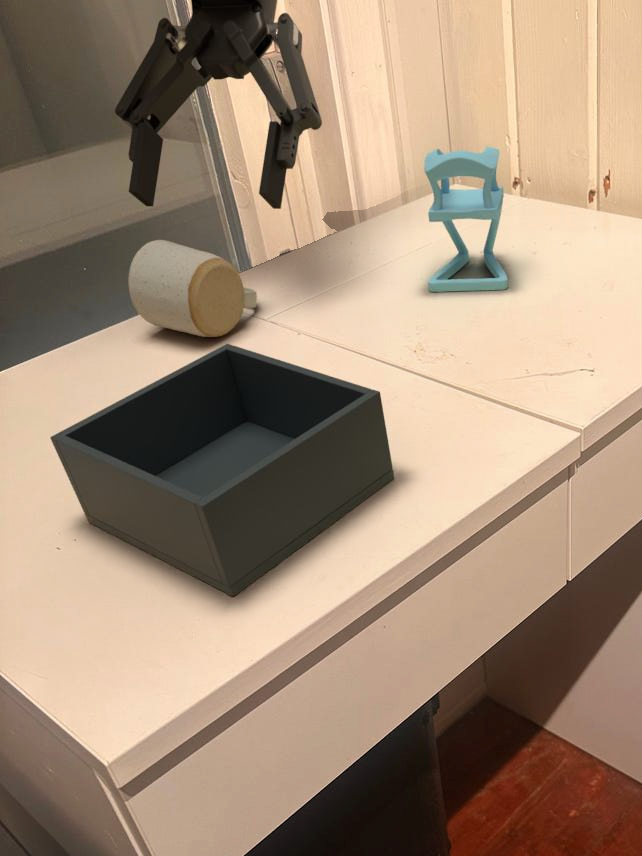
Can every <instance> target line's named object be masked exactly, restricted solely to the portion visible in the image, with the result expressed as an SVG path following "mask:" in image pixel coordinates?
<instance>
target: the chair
mask: <svg viewBox="0 0 642 856" xmlns="http://www.w3.org/2000/svg"><path fill="white" fill-rule="evenodd" d="M499 156H500V149H499V148H496V147H491V146H488V145H487V146H486V147H485V148H484V150H483V151H482V152H473V151H469V150H453V151H449V152H446V153H444V152H442V151H441V149H440V148H436V149H433V150H432V151H430V152H428V153H427V154H425V157H424V163H423V169H424V173H425V175H426V177H427V180H428V181H429V184H430V187H431V189H432V192H433V202H432V204H431V206H430V208H429V210H428V211H427V213H428V214H427V215H428V223H441V222H442V224H443V226H444V228H445V230H446V231H447V234H448V235H449V237H450V238H451V241H452V242H453V244H454V246H455V248H456V250H457V254H456V255H455V256H454V257H453V258H452V259H451V260H450V261H448V262H447V263H446V264H445V265H444V266H443V267H441V268H440V269H439V270H438V271H437V272H435V273H434V274H433V275H432V276H431V277H430V278H429V279H428V281H427V283H428V290H429V292H431V293H440V292H471V291H473V292H474V291H502V290H507V289H508V288H509V287H508V285H509V284H508V276H507V273H506V272H505V270H504V268H503V267H502V266H501V264H500V262H499V261H498V259H497V257H496V256H495V253H494V247H495V242H496V239H497V234H498V229H499V225H500V220H501V216H502V210H503V203H504V197H505V195H504V186H499V184H498V182H497V167H498V163H499ZM456 177H471V178H478V179H482V180H484V182H483V186H482V188H473V189H471V188H470V189H456V188H455V189H453V188H450V187H451V186H450V185H451V184H450V178H456ZM439 181H440V185H439V183H438V182H439ZM453 220H479V221H480V220H481V221H490V224H489V228H488V233H487V236H486V239H485V243H484V246H483V260H484V263H485V265H486V267H487V269H488V270H489V271H490V273H491V274H492V276H493V277H487V278H486V277H485V278H458V279H457V278H456V279H455V278H454V279H450V278H451V277H452V276H454V275H455V274H456V273H457V272H458V271H460V270H461V269H462V268H464V266H466V264H467V263H468V262H469V261H470V254H469V249H468V248H467V245H466V244H465V242H464V240H463V239H462V237H461V235H460V233H459V231H458V229H457V228H456V225H455V223H454V222H453Z"/></svg>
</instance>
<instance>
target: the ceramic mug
mask: <svg viewBox="0 0 642 856" xmlns="http://www.w3.org/2000/svg"><path fill="white" fill-rule="evenodd" d="M127 279H128V281H127V282H128V283H127V284H128V291H129V292H128V293H129V296H130V300H131V302H132V305H133V307H134V308H135V310H136V311H137V313H138V314H139V316H140V317H141V318H142V319H143V320H145V322H147V323H149V324H151V325H153V326H156V327H160V328H164V329H169V330H173V331H177V332H181V333H182V332H183V333H187V334H190V335H194V336H198V337H203V338H219V337H222V336H225V335H226V334H228V333H229V332H230V331H232V330H233V329H234V328H235V327H236V325H237V324H238V322H239V321H240V319H241V317H242V314H243V312H244V309H256V307H257V300H258V293H257V291H256V290H254V289H252V288H248V287H245V286H244V284H243V279H242V277H241V275H240V273H239V272H238V270H237V269H236V267H235V265H232V263H230V262H229V261H228V260H226V259H224V258H222V257H220V256H218V255H216V254H213V253H211V252H207V251H204V250H199V249H195V248H192V247H189V246H185V245H182V244H179V243H176V242H173V241H169V240H165V239H156V240H152V241H149V242H147V243H145V244H144V245H142V246H141V247H140V248H139V249H138V251H136V253H135V255H134V257H133V259H132V261H131V264H130V266H129V271H128V278H127Z"/></svg>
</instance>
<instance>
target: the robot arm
mask: <svg viewBox="0 0 642 856" xmlns="http://www.w3.org/2000/svg"><path fill="white" fill-rule="evenodd" d="M190 3H191V16H190V19H189V21H188V23H186V25H185V26H184V25H174V24H172V21H170V20H169V19H168V18H167V17H163V18H160V20H159V21H158V23H157V28H156V30H155V35H154V39H153V41H152V44H151V45H150V48H149V49H148V51H147V53H146V54H145V56H144V57H143V60H142V61H141V63H140V64H139V66H138V67H137V70H136V71H135V73H134V75H133V76H132V78H131V80H130V82H129V84H128V85H127V87H126V89H125V91H124V93H123V94H122V96H121V98H120V99H119V101H118V103H117V104H116V105H115V109H114V113H115V115H116V116H117V117H118V118H119V119H120V120H121V121H122V122H123V123H125V125H127V126H128V127H129V128H130V129H131V134H130V141H129V148H128V159H129V161H131V162H132V166H131V172H130V179H129V187H128V193H129V194H131V196H133V197H134V198H136V199H137V200H138V202H140V203H142V205H144V206H145V207H154V203H155V197H156V190H157V183H158V179H159V177H158V176H159V170H160V163H161V156H162V150H163V145H164V139H163V137H162V136H161V135H160V134H159V131H161V130H162V128H163V127H164V126H165V125H166V124H167V123H168V122H169V120H171V118H172V117H173V116H174V115H175V114H176V112H177V111H179V109H180V108H181V107H182V106H183V105H184V103H185V102H187V100H188V99H189V98H190V97H191V96H192V95H193V93H194V92H195V91H196V90H197V89H198V88H199V87H205V86H206V85H207V84H208V83H209V82H210V80H211V79H213V80H216V81H217V80H218V81H219V80H225V79H228V78H231V79H235V80H244V79H245V76H247V75H248V74H251V76H252V77H253V79H254V81H255V82H256V84H257V85H258V87H259V89H260V90H261V92H262V94H263V95H264V96H265V98H266V100H267V101H268V104H269V105H270V106H271V109H272V110H273V111H274V113H275V116H276V117H277V118H278V119H279V121H280V123H279V122H278V121H277V120H276V121H274V120H271V121H269V123H268V129H267V137H266V143H265V150H264V156H263V164H262V170H261V176H260V183H259V190H258V194H259V195H260V197H261V198H262V199H263V200H264V201H265V203H267V204H268V205H269V206H270V207H271V208H272V209H273V210H278V209H279V210H281V209H282V202H283V196H284V189H285V183H286V177H287V171H288V170H292V169H293V168H294V167H295V165H296V161H297V153H298V149H299V141H300V136H301V135H302V134H303V132H304V131H306V130H309V129H312V130H314V131H318V130H319V129H320V128H321V127H322V124H323V120H322V115H321V113H320V110H319V106H318V104H317V100H316V97H315V94H314V91H313V87H312V84H311V81H310V77H309V74H308V72H307V69H306V65H305V62H304V58H303V55H302V50H303V49H302V48H303V34H302V32H301V31H300V29H299V27H298V25H297V24H296V23H295V22H294V20H293V18H292V17H291V16H290V14H289V13H288V12H283V13H281V14H280V15H279V16H278V18H277V21H276V22H275V18H276V13H277V12H276V11H277V5H278V0H190ZM273 43H274V45H276V46H277V48H278V50H279V53H280V55H281V58H282V63H283V65H284V69H285V72H286V76H287V78H288V82H289V85H290V89H291V92H292V95H293V98H294V101H295V102H294V103H295V104H296V108H293V109H292V107H291V105H289V103H288V101H287V100H286V98H285V97H284V95H283V93H282V91H281V90H280V88H279V86H278V85H277V84H276V82H275V80H274V79H273V77H272V74H271V73H270V71H269V70H268V69H267V67H266V65H265V63H264V62H263V60H262V58H263V57H264V56H265V55H266V53H267V52H268V51H269V49H270V48H271V46H272V45H273ZM194 59H195V60H196V62H197V63H198V65H199V67H200V68H199V69H197V68H195V66H194V65H193V60H194Z"/></svg>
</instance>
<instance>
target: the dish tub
mask: <svg viewBox="0 0 642 856" xmlns="http://www.w3.org/2000/svg"><path fill="white" fill-rule="evenodd" d="M388 437H389V436H388V431H387V425H386V419H385V414H384V408H383V402H382V396H381V391H380V390H376V389H372V388H369V387H366V386H364V385H363V386H362V385H360V384H356V383H353V382H351V381H348V380H344V379H342V378H341V379H340V378H338V377H335V376H331V375H329V374H325V373H322V372H318V371H316V370H312V369H309V368H307V367H303V366H299V365H297V364H293V363H290V362H286V361H284V360H281V359H278V358H274V357H271V356H268V355H265V354H262V353H259V352H255V351H252V350H249V349H246V348H243V347H239V346H236V345H233V344H230V343H225V344H224V345H222V346H220V347H218V348H216V349H214V350H212V351H211V352H209V353H206V354H204V355H202V356H201V357H199V358H197V359H195V360H194V361H192V362H189V363H187V364H185V365H183V366H182V367H180V368H178V369H176V370H175V371H172V372H171V373H169V374H167V375H165V376H163V377H161V378H159V379H157V380H155V381H154V382H152V383H150V384H148V385H146V386H144V387H142V388H140V389H138V390H137V391H135V392H133V393H131V394H128V395H127V396H125V397H124V398H121V399H120V400H118V401H116V402H114V403H112V404H111V405H110V404H109V405H108V406H106V407H104V408H102V409H101V410H99V411H97V412H95V413H93V414H91V415H90V416H87V417H86V418H83V419H82V420H80V421H78V422H76V423H74V424H72V425H71V426H69V427H67V428H65V429H63V430H61V431H59V432H57V433H56V434H53V435H51V436H50V441H51V443H52V445H53V447H54V450H55V451H56V454H57V457H58V458H59V461H60V462H61V464H62V465H61V466H62V467H63V469H64V472H65V474H66V475H67V478H68V480H69V482H70V485H71V487H72V489H73V492H74V493H75V496H76V498H77V500H78V503H79V504H80V507H81V509H82V511H83V513H84V516H85V518H86V521H87V522H88V523H90V524H91V525H94V526H95V527H97V528H99V529H101V530H103V531H105V532H107V533H109V534H111V535H113V536H115V537H117V538H119V539H120V540H123V541H124V542H127V543H128V544H131V545H132V546H134V547H136V548H138V549H140V550H142V551H143V552H146V553H148V554H149V555H152V556H153V557H155V558H157V559H159V560H160V561H163V562H166V563H167V564H169V565H171V566H173V567H175V568H177V569H179V570H181V571H182V572H184V573H187V574H188V575H190V576H192V577H194V578H197V579H198V580H200V581H202V582H204V583H206V584H208V585H209V586H212V587H213V588H216V589H217V590H219V591H221V592H223V593H225V594H227V595H229V596H231V597H235V596H236V595H237V594H239V593H240V592H241V591H243V590H244V589H246V588H247V587H249V586H250V585H251V584H252V583H253V582H255V581H256V580H258V579H259V578H261V577H262V576H263V575H265V574H266V573H267V572H269V571H270V570H271V569H273V568H274V567H276V566H277V565H278V564H280V563H281V562H282V561H284V560H285V559H286V558H288V557H289V556H290V555H293V554H294V553H295V552H296V551H297V550H298V549H300V548H302V547H303V546H304V545H306V544H307V543H309V541H311V540H313V539H314V538H315V537H316V536H318V535H319V534H321V533H322V532H323V531H324V530H326V529H327V528H329V527H330V526H332V525H333V524H334V523H335V522H337V521H338V520H340V519H341V518H342V517H344V516H345V515H347V514H348V513H349V512H351V511H352V510H353V509H354V508H356V507H357V506H358V505H360V504H361V503H363V502H364V501H365V500H366V499H368V498H370V497H371V496H372V495H373V494H375V493H377V492H378V491H379V490H380V489H382V488H383V487H385V486H386V485H387V484H389V483H390V482H391V481H392V480H394V479H395V474H394V469H393V467H394V466H393V462H392V456H391V450H390V449H391V448H390V443H389V438H388Z"/></svg>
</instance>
